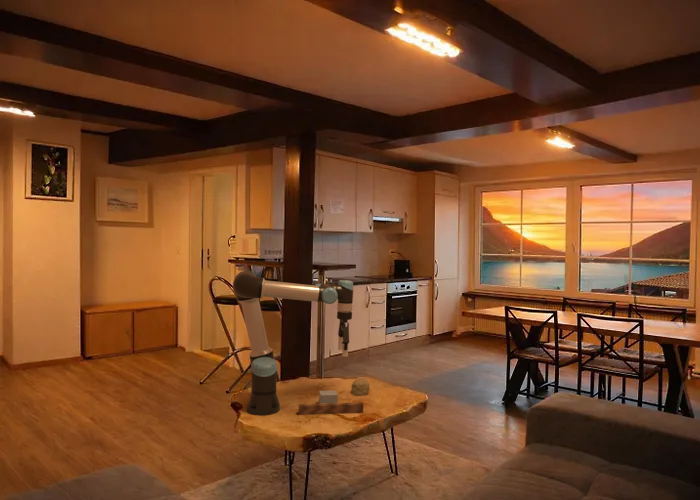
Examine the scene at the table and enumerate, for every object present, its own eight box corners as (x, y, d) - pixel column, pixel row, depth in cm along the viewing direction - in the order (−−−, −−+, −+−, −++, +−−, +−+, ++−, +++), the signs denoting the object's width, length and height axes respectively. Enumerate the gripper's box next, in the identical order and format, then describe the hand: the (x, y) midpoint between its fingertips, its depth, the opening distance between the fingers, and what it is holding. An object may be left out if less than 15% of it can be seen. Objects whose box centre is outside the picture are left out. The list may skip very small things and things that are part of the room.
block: (320, 407, 255) (321, 395, 255) (318, 402, 262) (319, 390, 262) (337, 407, 257) (337, 394, 256) (335, 402, 264) (335, 390, 263)
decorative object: (356, 403, 273) (367, 389, 270) (344, 389, 278) (354, 375, 275) (366, 400, 281) (376, 386, 278) (354, 386, 286) (363, 372, 283)
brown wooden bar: (298, 414, 245) (299, 405, 244) (298, 412, 248) (298, 403, 247) (363, 412, 250) (363, 403, 249) (361, 410, 253) (362, 401, 252)
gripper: (356, 315, 256) (354, 359, 257) (348, 307, 281) (346, 347, 282) (341, 315, 255) (339, 359, 256) (333, 307, 279) (332, 347, 280)
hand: (342, 353), depth 269 cm, fingers open, 13 cm apart
